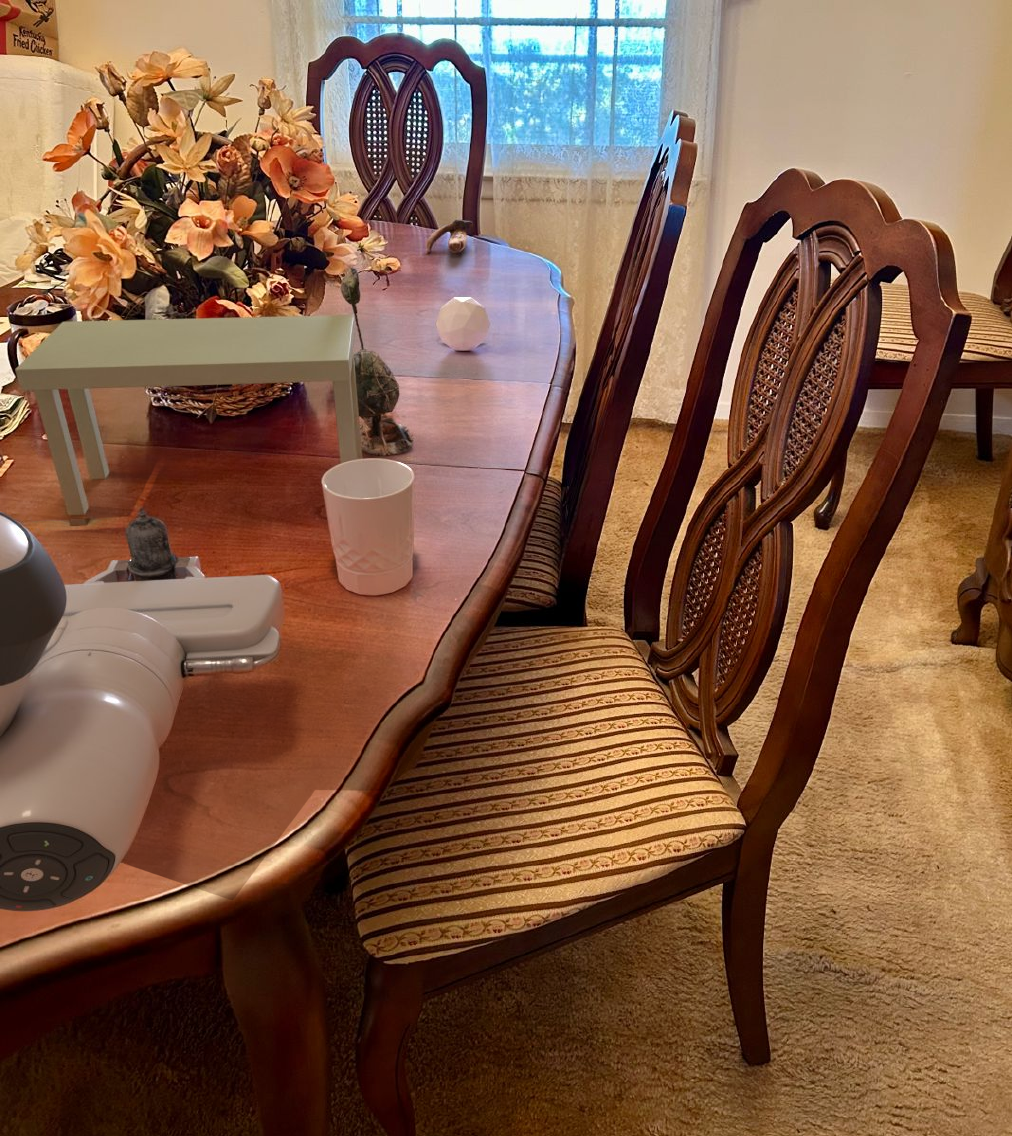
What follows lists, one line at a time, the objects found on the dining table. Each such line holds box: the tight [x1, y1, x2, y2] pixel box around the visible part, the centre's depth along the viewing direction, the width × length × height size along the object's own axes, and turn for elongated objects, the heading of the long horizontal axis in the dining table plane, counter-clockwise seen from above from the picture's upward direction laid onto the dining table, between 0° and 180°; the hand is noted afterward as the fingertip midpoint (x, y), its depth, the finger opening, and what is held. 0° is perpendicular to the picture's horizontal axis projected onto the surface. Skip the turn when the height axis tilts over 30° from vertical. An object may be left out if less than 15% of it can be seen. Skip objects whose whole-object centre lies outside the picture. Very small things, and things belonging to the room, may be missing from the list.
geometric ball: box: [435, 296, 491, 352], centre depth 137 cm, size 8×8×8 cm
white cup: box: [321, 457, 415, 596], centre depth 82 cm, size 8×8×10 cm
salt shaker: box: [125, 507, 179, 581], centre depth 71 cm, size 6×6×12 cm
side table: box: [14, 314, 363, 527], centre depth 93 cm, size 29×14×17 cm, turn 96°
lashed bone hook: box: [426, 219, 474, 254], centre depth 193 cm, size 9×5×18 cm
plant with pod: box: [340, 267, 414, 457], centre depth 104 cm, size 8×11×20 cm
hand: (157, 565), depth 72 cm, fingers closed on salt shaker, 3 cm apart
